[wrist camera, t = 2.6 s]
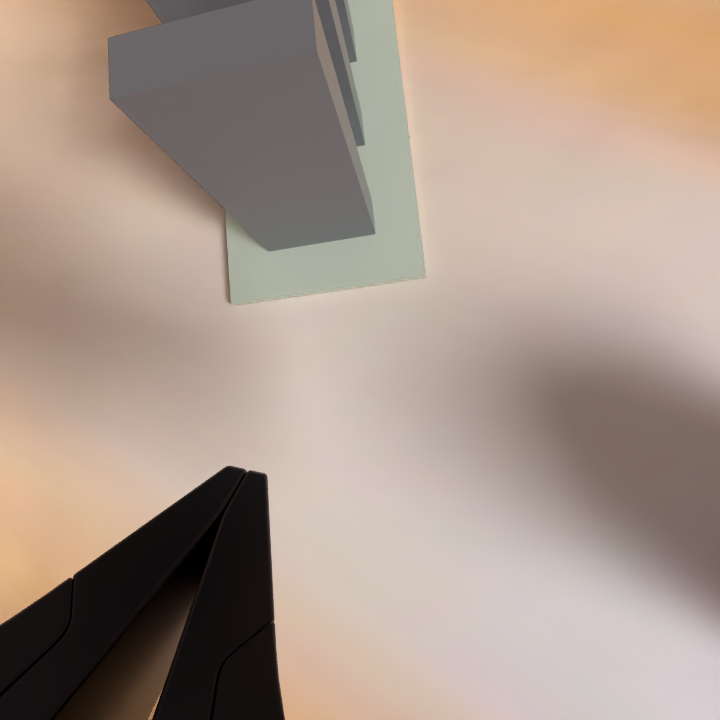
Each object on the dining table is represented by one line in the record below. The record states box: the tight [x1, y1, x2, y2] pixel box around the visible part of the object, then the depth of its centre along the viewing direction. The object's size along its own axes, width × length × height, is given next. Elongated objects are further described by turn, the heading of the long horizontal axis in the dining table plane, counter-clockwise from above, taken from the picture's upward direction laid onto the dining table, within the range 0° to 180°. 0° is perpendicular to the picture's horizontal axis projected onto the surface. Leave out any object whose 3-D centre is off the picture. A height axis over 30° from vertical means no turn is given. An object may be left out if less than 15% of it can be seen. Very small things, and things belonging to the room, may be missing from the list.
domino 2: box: [146, 0, 365, 147], centre depth 15 cm, size 2×5×10 cm, turn 96°
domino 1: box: [108, 0, 376, 252], centre depth 15 cm, size 2×5×10 cm, turn 96°
